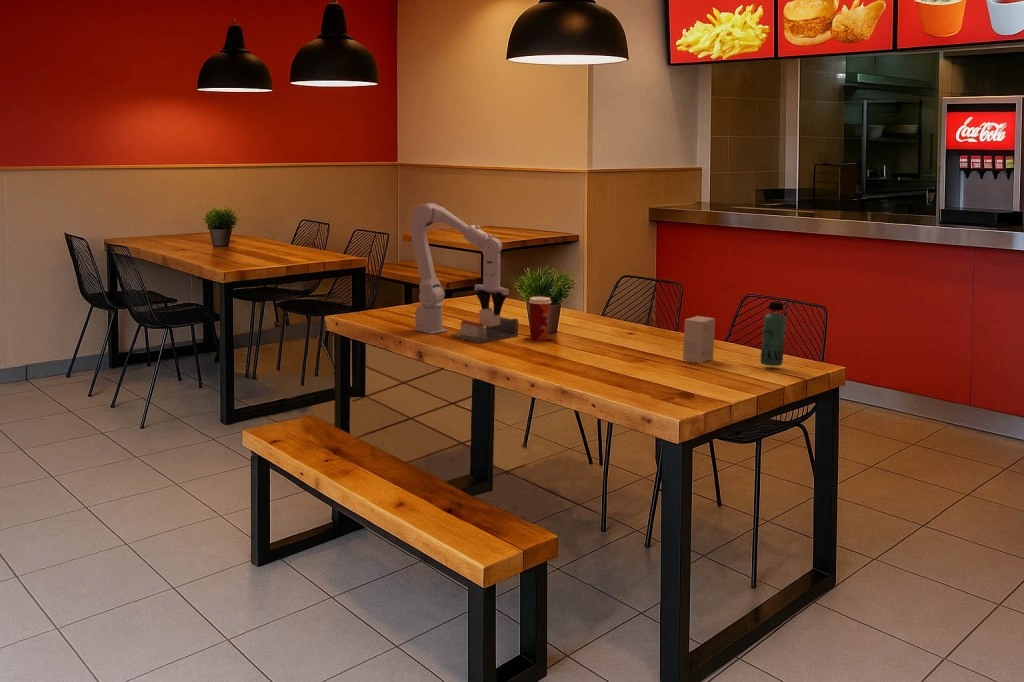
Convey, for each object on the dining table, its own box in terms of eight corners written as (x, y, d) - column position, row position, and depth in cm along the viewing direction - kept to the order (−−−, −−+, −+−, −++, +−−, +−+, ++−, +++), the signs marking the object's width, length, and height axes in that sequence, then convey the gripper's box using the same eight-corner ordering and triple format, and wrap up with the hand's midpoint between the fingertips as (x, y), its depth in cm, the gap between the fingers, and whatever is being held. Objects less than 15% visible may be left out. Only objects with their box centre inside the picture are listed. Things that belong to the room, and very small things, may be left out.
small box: (695, 356, 289) (697, 315, 287) (713, 359, 285) (715, 318, 283) (682, 360, 283) (684, 319, 281) (700, 364, 279) (702, 321, 277)
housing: (479, 324, 315) (479, 308, 313) (489, 322, 318) (489, 306, 317) (489, 326, 311) (489, 310, 310) (499, 324, 315) (500, 308, 314)
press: (451, 337, 312) (451, 319, 311) (489, 330, 325) (489, 313, 324) (480, 343, 303) (480, 325, 302) (517, 336, 316) (518, 319, 314)
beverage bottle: (764, 364, 280) (768, 299, 276) (785, 367, 276) (790, 301, 272) (756, 368, 274) (761, 302, 270) (778, 372, 271) (783, 304, 267)
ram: (459, 334, 311) (459, 320, 310) (466, 333, 313) (466, 319, 312) (478, 338, 305) (478, 324, 304) (484, 337, 307) (484, 323, 306)
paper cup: (548, 342, 307) (549, 300, 304) (525, 340, 309) (526, 299, 306) (552, 337, 315) (553, 296, 312) (530, 336, 316) (530, 295, 313)
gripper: (468, 272, 314) (468, 312, 316) (498, 277, 304) (498, 317, 307) (483, 270, 319) (482, 309, 321) (513, 275, 309) (512, 315, 312)
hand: (491, 313), depth 314 cm, fingers closed on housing, 5 cm apart
